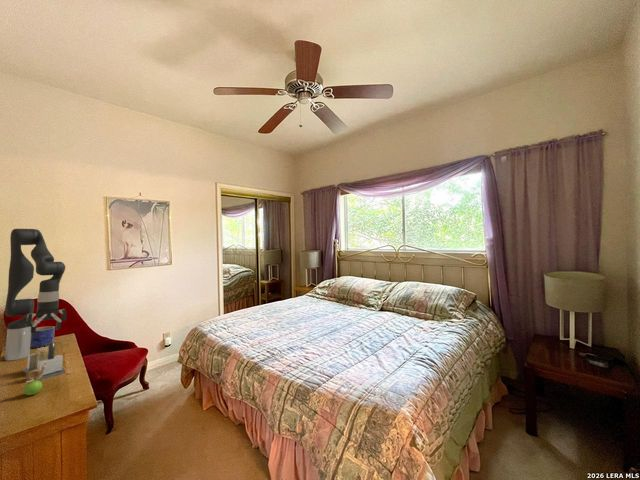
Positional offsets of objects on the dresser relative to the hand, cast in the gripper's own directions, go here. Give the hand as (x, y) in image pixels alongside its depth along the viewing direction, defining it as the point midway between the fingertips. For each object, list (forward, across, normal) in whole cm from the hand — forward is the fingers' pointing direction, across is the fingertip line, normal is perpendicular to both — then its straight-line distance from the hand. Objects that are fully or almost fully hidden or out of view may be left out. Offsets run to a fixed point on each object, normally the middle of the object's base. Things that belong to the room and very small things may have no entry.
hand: (46, 331), depth 130 cm
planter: (+21, +12, +50) cm, 55 cm away
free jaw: (+18, 0, -9) cm, 20 cm away
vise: (+20, 0, -2) cm, 20 cm away
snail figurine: (+20, -9, -26) cm, 34 cm away
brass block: (+18, 0, 0) cm, 18 cm away
